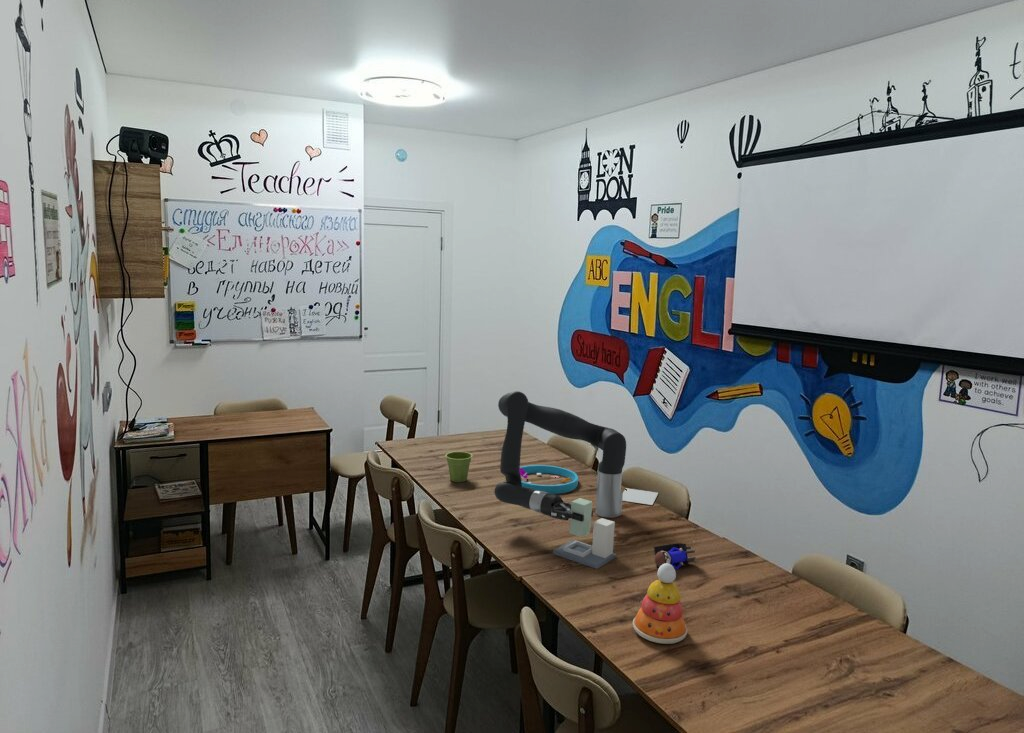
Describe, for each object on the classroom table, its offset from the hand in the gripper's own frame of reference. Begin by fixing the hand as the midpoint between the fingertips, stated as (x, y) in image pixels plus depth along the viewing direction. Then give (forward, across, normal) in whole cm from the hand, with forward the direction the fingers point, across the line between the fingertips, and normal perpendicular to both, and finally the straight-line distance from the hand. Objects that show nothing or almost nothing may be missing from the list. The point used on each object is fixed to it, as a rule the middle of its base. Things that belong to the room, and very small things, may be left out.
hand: (587, 516), depth 231 cm
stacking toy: (+41, -28, +14) cm, 52 cm away
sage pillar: (-3, 0, +7) cm, 7 cm away
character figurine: (+26, +12, +14) cm, 32 cm away
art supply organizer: (-55, +54, +15) cm, 78 cm away
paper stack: (-21, +69, +14) cm, 73 cm away
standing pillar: (+5, +3, +13) cm, 14 cm away
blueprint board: (0, 0, +14) cm, 14 cm away
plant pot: (-84, +30, +15) cm, 90 cm away
